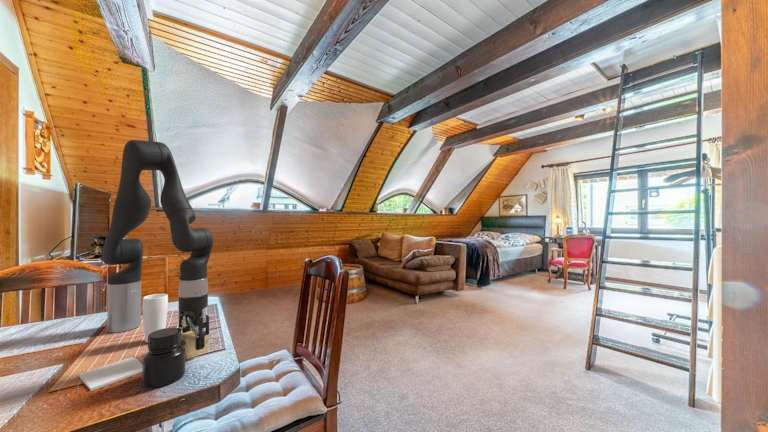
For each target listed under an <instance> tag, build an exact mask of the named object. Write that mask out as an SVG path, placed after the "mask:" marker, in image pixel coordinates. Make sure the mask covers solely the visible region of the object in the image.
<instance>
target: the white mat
mask: <svg viewBox="0 0 768 432" xmlns="http://www.w3.org/2000/svg"><path fill="white" fill-rule="evenodd" d="M140 373H141V374H142V362H141V361H139V360H138V359H137V358H135V357H134V356H131V357H129V358H126V359H122V360H120V361H115V362H112V363H109V364H107V365H104V366H101V367H97V368H95V369H90V370H88V371H85V372H82V373H79V374H78V378H79V379H80V380H81V381H82V382H83V384H84V385H85V386H86V387H87V388H88V390H89V391H90V392H92V391H95V390H96V389H100V388H103V387H106V386H108V385H111V384H114V383H116V382H119V381H121V380H125V379H126V378H131V377H133V376H135V375H138V374H140Z"/></svg>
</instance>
